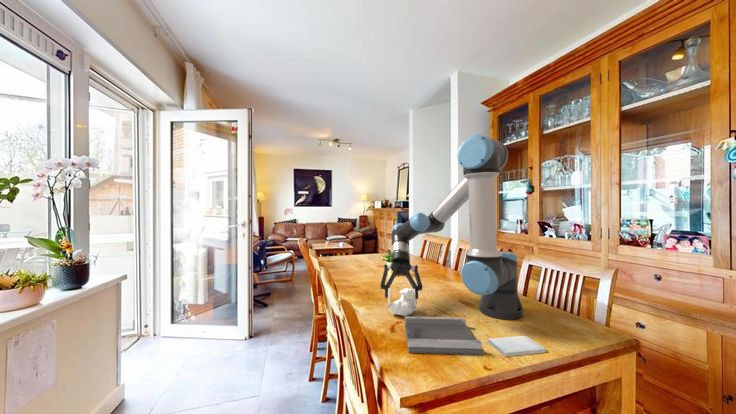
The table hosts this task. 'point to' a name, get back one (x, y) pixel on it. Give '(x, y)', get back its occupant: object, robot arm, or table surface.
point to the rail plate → (440, 336)
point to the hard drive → (516, 346)
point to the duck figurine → (403, 303)
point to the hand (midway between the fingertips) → (401, 306)
